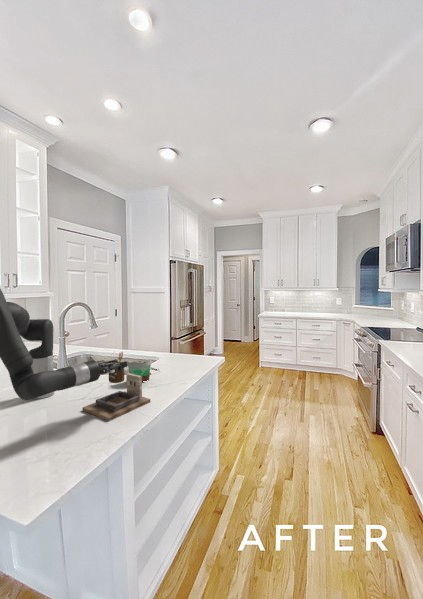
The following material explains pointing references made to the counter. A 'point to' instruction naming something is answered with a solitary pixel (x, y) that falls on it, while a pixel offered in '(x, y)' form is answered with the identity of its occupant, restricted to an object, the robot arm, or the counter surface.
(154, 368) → the phone case
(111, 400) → the charging dock
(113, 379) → the utensil holder
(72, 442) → the counter surface
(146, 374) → the food container
